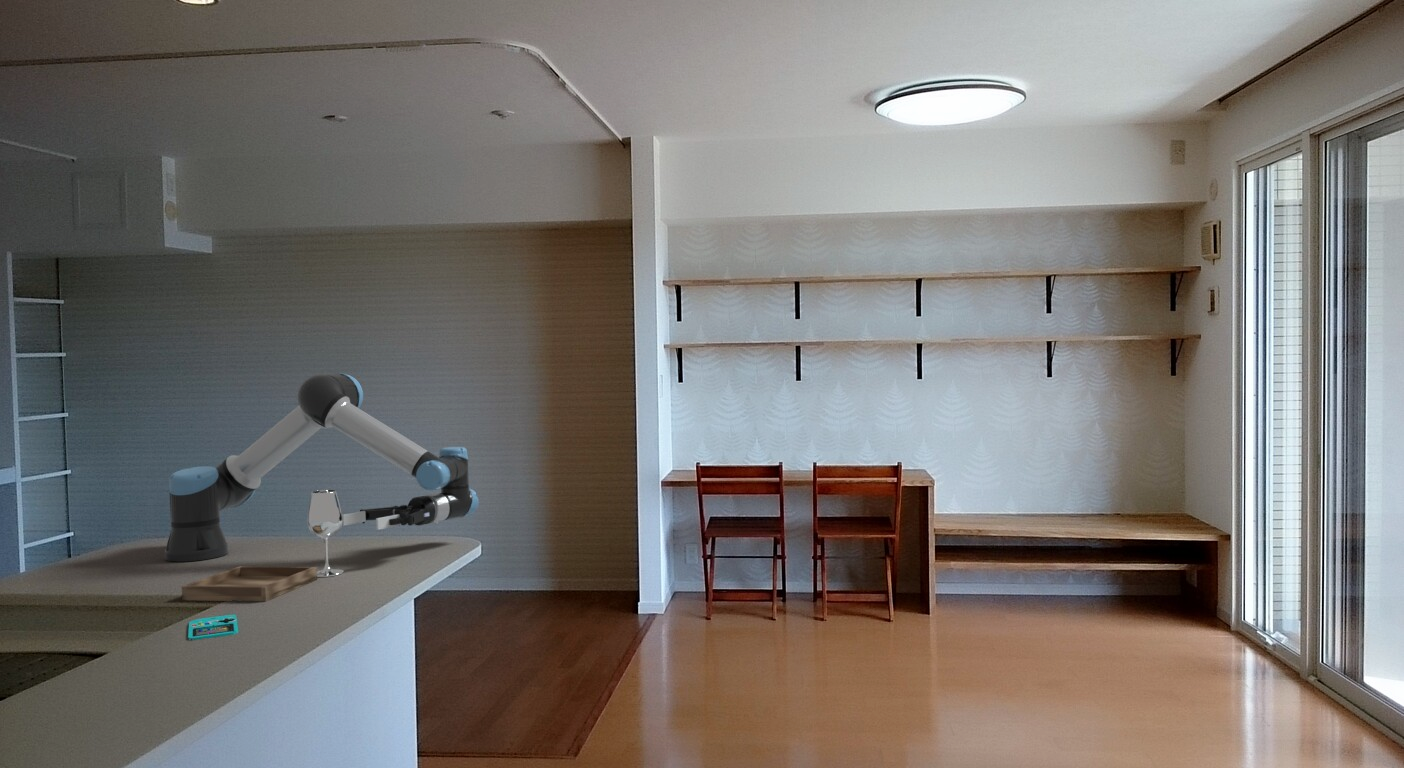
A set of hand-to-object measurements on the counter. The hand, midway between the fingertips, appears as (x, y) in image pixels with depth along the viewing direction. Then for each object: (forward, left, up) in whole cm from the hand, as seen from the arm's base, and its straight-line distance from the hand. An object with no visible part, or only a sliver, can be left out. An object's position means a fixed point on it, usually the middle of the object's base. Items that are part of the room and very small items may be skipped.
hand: (359, 522), depth 244 cm
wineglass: (+9, -4, -11) cm, 15 cm away
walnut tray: (+25, -13, -11) cm, 30 cm away
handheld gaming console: (+55, -1, -12) cm, 56 cm away
